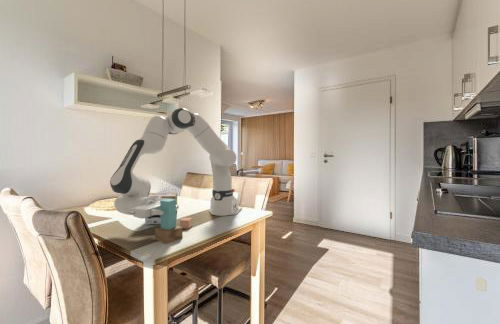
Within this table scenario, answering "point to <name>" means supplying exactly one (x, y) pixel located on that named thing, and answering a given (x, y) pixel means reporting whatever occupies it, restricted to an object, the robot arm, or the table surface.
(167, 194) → the tea box
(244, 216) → the table surface
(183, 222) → the terracotta block
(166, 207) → the teal block
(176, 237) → the walnut base block
